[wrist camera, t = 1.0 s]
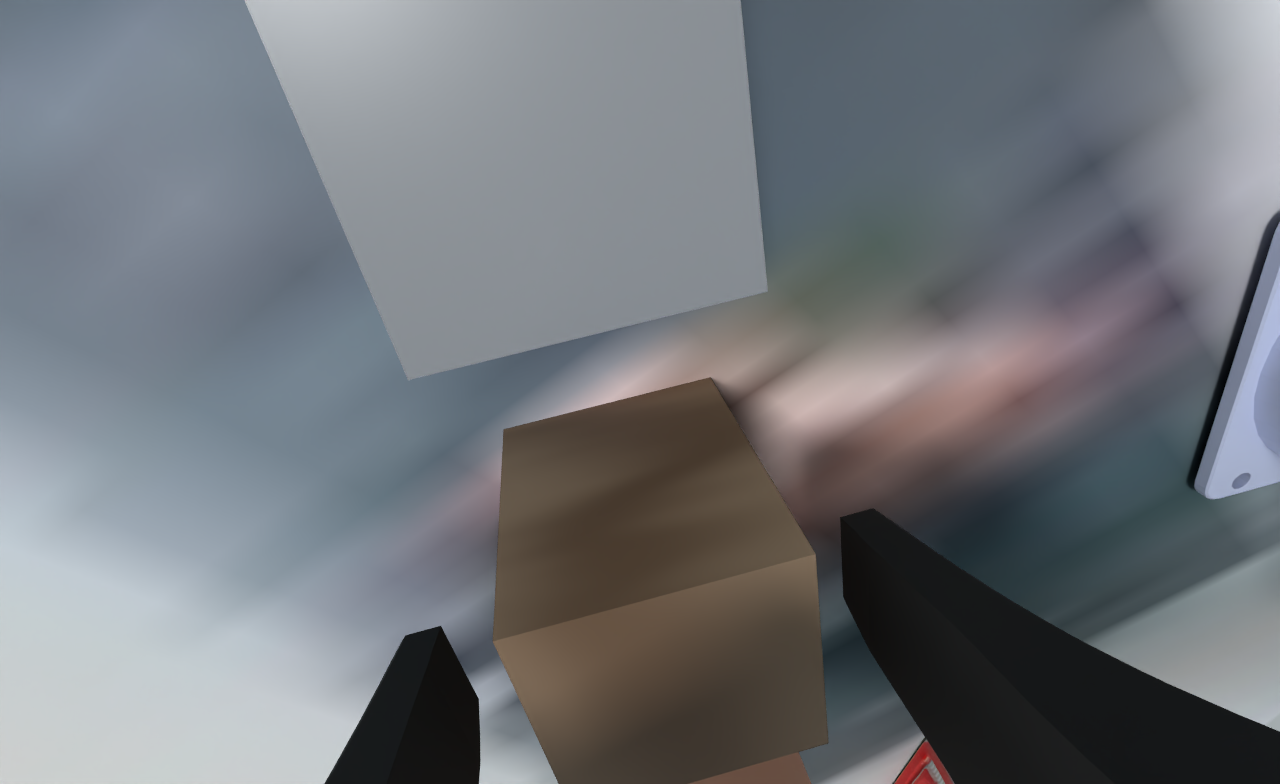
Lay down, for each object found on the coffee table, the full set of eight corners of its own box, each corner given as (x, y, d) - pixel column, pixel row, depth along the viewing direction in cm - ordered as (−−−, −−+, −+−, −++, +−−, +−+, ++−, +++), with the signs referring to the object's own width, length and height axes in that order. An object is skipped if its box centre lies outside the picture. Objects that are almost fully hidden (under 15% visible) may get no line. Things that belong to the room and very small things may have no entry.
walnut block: (709, 376, 13) (815, 553, 8) (733, 532, 15) (828, 743, 11) (503, 428, 13) (493, 641, 8) (557, 579, 15) (574, 816, 10)
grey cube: (639, -82, 9) (722, -184, 5) (684, 213, 12) (767, 291, 8) (343, -20, 9) (211, -79, 5) (447, 270, 11) (407, 380, 7)
